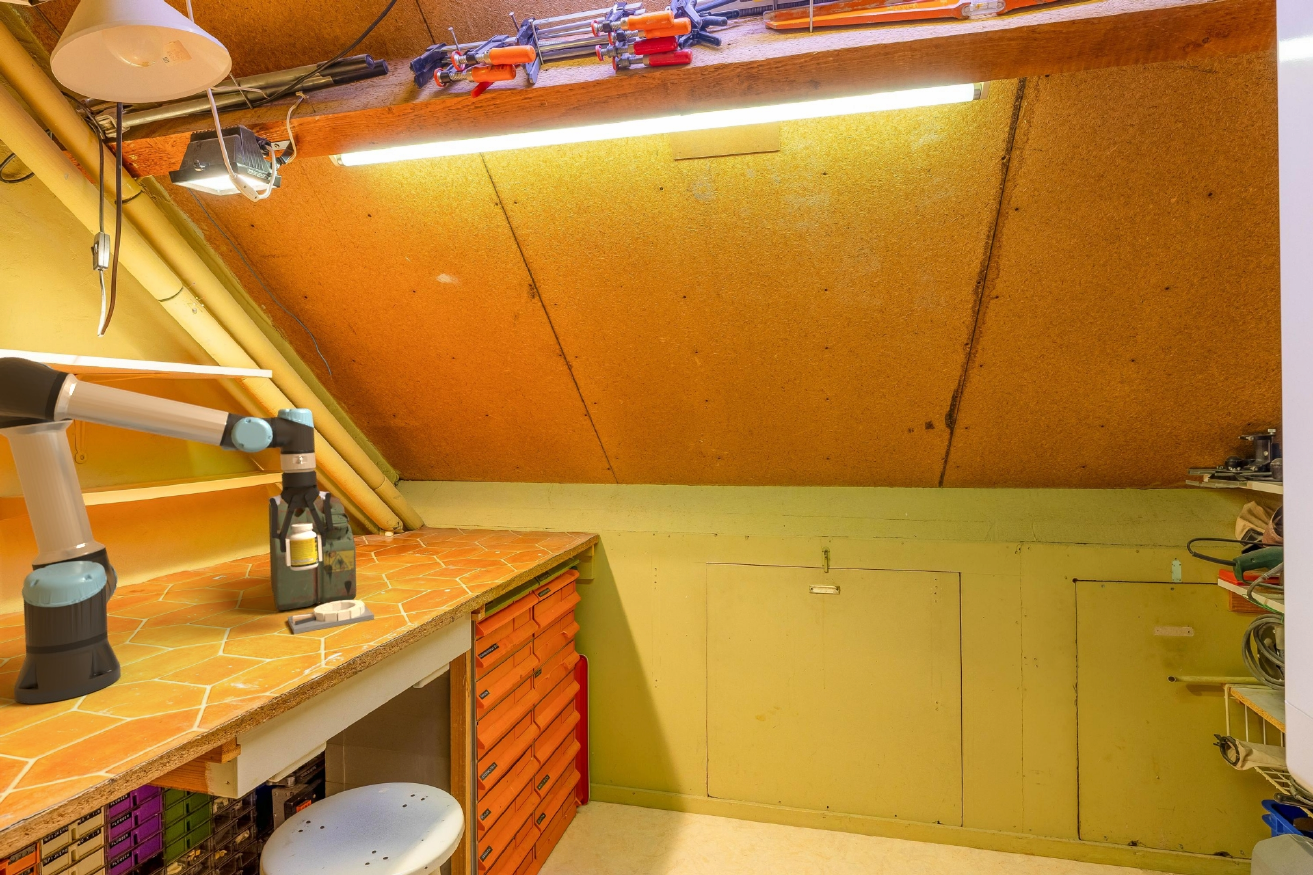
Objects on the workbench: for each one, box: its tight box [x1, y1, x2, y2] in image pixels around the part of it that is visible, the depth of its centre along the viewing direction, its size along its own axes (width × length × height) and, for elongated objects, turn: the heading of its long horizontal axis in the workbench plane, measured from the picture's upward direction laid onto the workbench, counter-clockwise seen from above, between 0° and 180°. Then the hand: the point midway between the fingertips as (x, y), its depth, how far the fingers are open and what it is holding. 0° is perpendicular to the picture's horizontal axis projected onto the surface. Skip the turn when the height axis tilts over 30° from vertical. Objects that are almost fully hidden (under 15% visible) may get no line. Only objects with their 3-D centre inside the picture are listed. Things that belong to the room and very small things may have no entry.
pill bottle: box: [288, 523, 318, 571], centre depth 157 cm, size 6×6×11 cm
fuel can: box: [268, 496, 357, 612], centre depth 185 cm, size 19×35×27 cm, turn 34°
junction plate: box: [287, 599, 375, 635], centre depth 162 cm, size 18×12×3 cm, turn 127°
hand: (304, 562), depth 157 cm, fingers closed on pill bottle, 6 cm apart
